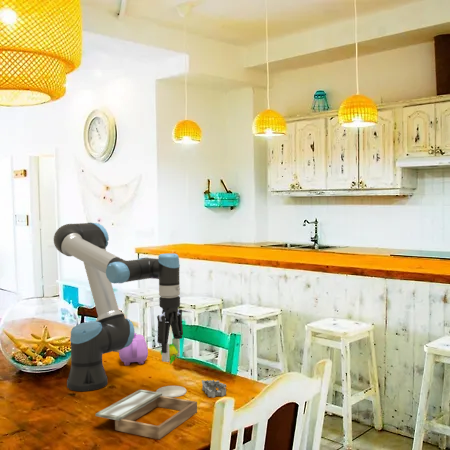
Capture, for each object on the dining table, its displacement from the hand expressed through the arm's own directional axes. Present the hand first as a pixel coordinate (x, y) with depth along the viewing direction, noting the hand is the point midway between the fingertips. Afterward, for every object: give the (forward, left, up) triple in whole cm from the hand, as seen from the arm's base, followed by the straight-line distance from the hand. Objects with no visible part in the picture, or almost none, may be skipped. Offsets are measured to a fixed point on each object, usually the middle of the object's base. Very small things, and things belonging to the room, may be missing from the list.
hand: (171, 358), depth 200 cm
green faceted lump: (0, 0, -1) cm, 1 cm away
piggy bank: (-36, +27, -13) cm, 47 cm away
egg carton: (+14, +6, -13) cm, 20 cm away
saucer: (0, 0, -13) cm, 13 cm away
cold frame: (+6, -24, -13) cm, 28 cm away
